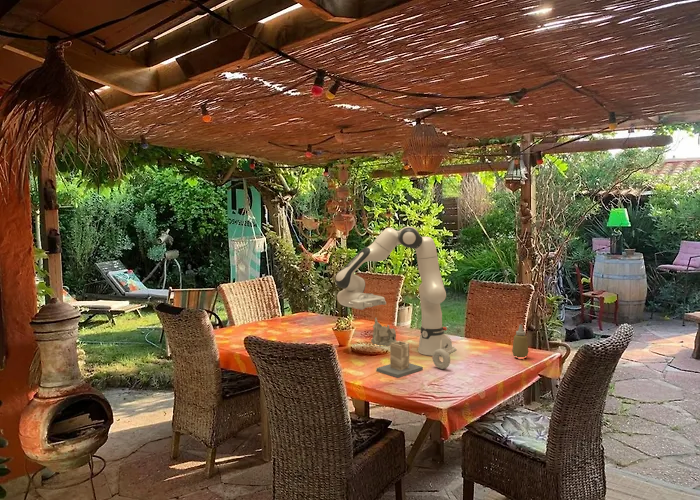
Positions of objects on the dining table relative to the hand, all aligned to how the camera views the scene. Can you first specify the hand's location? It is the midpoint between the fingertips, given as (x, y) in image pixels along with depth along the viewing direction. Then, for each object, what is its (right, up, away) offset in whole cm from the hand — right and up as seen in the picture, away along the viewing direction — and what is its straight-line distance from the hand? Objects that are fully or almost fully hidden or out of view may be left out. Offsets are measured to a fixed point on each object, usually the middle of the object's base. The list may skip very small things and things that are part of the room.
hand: (378, 304), depth 265 cm
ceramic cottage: (+5, -27, +39) cm, 48 cm away
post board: (+9, -31, -15) cm, 35 cm away
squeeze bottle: (+75, -29, +5) cm, 80 cm away
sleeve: (+9, -29, -15) cm, 34 cm away
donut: (+30, -31, -13) cm, 45 cm away
